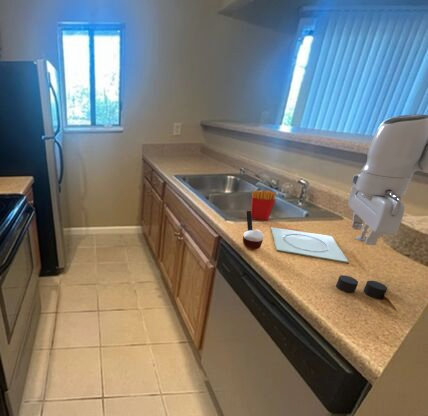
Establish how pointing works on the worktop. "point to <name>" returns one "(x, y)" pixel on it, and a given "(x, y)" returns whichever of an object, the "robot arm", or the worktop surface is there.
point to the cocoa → (252, 235)
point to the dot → (375, 289)
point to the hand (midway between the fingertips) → (362, 235)
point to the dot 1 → (347, 284)
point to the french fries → (262, 204)
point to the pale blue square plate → (307, 244)
